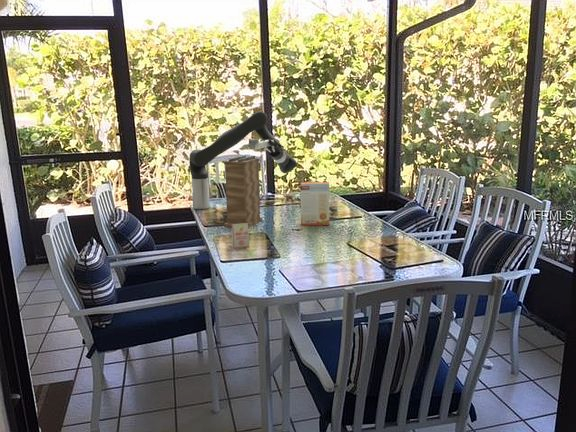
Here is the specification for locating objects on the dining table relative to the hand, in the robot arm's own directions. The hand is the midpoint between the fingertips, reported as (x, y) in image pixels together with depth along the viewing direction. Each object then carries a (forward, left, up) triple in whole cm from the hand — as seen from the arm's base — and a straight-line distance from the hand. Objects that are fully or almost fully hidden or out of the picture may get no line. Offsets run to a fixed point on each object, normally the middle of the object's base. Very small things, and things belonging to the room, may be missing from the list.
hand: (265, 141), depth 266 cm
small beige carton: (-17, -64, -39) cm, 76 cm away
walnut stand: (-14, -24, -39) cm, 48 cm away
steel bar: (-3, -4, -3) cm, 6 cm away
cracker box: (+21, -31, -39) cm, 54 cm away
